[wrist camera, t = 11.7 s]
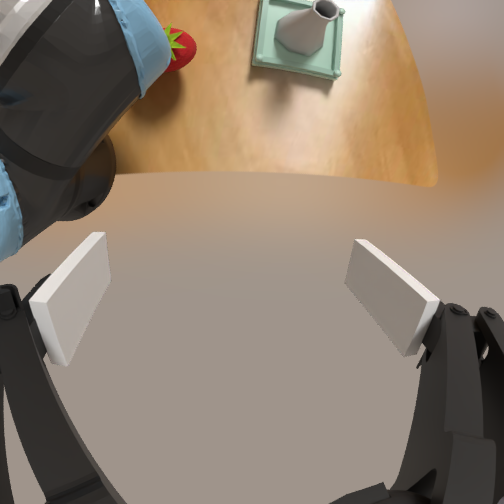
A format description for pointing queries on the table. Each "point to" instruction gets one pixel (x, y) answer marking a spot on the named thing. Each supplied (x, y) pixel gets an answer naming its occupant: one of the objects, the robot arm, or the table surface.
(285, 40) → the flask
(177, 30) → the strawberry
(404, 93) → the table surface
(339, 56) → the base board
